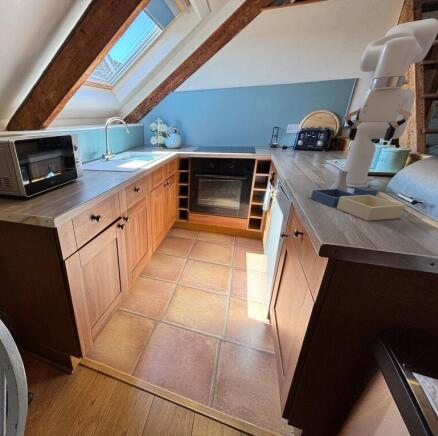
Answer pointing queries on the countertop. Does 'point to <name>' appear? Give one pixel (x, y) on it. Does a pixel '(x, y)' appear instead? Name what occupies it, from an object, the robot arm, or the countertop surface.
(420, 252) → the countertop surface
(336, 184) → the flask
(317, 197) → the blue bin
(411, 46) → the robot arm
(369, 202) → the cream bin
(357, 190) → the blue block
